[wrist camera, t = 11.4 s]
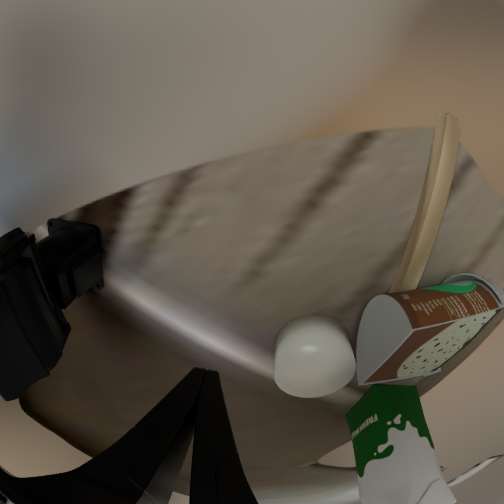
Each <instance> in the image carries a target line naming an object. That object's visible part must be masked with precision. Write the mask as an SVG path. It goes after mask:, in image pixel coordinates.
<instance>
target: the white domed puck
mask: <svg viewBox="0 0 504 504" xmlns="http://www.w3.org/2000/svg"><path fill="white" fill-rule="evenodd" d="M355 371H356V362H355V358H354V355H353V351H352V347H351V344H350V341H349V337H348V334H347V331H346V329H345V327H344V326H343V325H342V324H341V323H340V322H339V321H337V320H336V319H333V318H331V317H328V316H322V315H311V316H305V317H301V318H298V319H296V320H294V321H292V322H290V323H289V324H287V325H286V326H285V327H284V328H282V330H281V331H280V332H279V334H278V335H277V337H276V341H275V365H274V379H275V382H276V384H277V386H278V387H279V388H280V389H281V390H283V391H284V392H286V393H288V394H290V395H293V396H296V397H303V398H315V397H321V396H325V395H329V394H332V393H334V392H336V391H338V390H340V389H341V388H343V387H344V386H345V385H347V384H348V383H349V382H350V381H351V379H352V378H353V376H354V374H355Z"/></svg>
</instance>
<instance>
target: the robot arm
mask: <svg viewBox="0 0 504 504" xmlns="http://www.w3.org/2000/svg"><path fill="white" fill-rule="evenodd" d="M47 225H48V233H49V235H48V236H47V237H45V238H43V239H42V240H40V241H39V242H37V243H36V242H35V240H36V239H35V235H34V233H32V234H25V232H23V231H22V230H21V229H20V228H19V227H18V228H15V229H13V230H12V231H9V232H8V233H6V234H4V235H3V236H1V237H0V395H1V396H2V398H3V399H4V400H5V401H11V400H15V399H17V398H19V397H20V396H21V394H22V393H23V392H24V391H25V390H26V389H27V388H29V387H30V386H31V385H32V384H34V383H35V382H37V381H38V380H40V379H43V378H45V377H47V376H49V375H50V373H49V371H50V370H52V369H53V368H54V367H55V365H56V364H57V363H58V361H59V359H60V358H61V356H62V354H63V352H62V351H63V348H64V345H65V343H66V340H67V338H68V335H69V333H70V330H71V327H70V325H69V323H68V322H67V321H66V318H65V316H64V314H63V312H62V310H61V309H64V310H65V309H66V308H67V307H68V306H69V305H70V304H71V303H72V301H73V300H74V299H75V298H76V297H78V298H79V297H81V296H82V295H83V294H84V293H85V292H86V291H87V290H88V289H89V288H94V289H97V290H101V289H102V288H103V287H104V281H103V271H102V263H101V254H100V246H99V234H98V228H97V227H96V226H95V225H92V224H86V223H80V222H74V221H67V220H61V219H55V218H51V219H49V220H48V222H47ZM92 230H93V231H94V232H92ZM134 427H135V428H134ZM134 427H133V428H132V429H130V430H129V431H128V432H127V433H126V434H125V435H124V436H123V437H122V438H120V439H119V440H118V441H117V442H116V443H114V444H113V445H112V446H110V447H109V448H107V449H106V450H105V451H103V452H102V453H100V454H99V455H97V456H96V457H94V458H92V459H91V460H90V461H88V462H86V463H85V464H83V465H82V466H80V467H78V468H76V469H74V470H71V471H68V472H64V473H59V474H52V475H45V476H37V477H29V478H28V477H27V478H19V477H15V476H14V475H12V474H11V473H9V472H8V471H7V470H5V469H4V468H3V467H1V466H0V504H168V503H169V500H170V497H171V495H172V492H173V489H174V487H175V484H176V481H177V479H178V476H179V473H180V470H181V468H182V465H183V462H184V460H185V457H186V454H187V451H188V449H189V446H190V443H191V440H192V438H193V435H194V442H193V454H192V467H191V482H190V499H189V504H258V502H257V500H256V498H255V496H254V494H253V492H252V490H251V488H250V486H249V484H248V481H247V479H246V477H245V474H244V471H243V468H242V465H241V462H240V458H239V455H238V452H237V447H236V444H235V440H234V436H233V432H232V428H231V424H230V420H229V416H228V411H227V407H226V403H225V398H224V394H223V390H222V385H221V380H220V376H219V372H218V371H216V370H210V369H208V370H206V369H205V368H201V367H194V368H193V369H192V370H191V371H190V372H189V373H188V374H187V375H186V376H185V377H184V378H183V379H182V380H181V381H180V382H179V383H178V384H177V385H176V386H175V387H174V388H173V389H172V390H171V391H170V392H169V393H168V394H167V395H166V396H165V397H164V398H163V399H162V400H161V401H160V402H159V403H158V404H157V405H156V406H155V407H154V408H153V409H152V410H151V411H150V412H148V413H147V414H146V415H145V416H144V417H143V418H142V419H141V420H140V421H139V422H138V423H137V424H136V425H135V426H134Z"/></svg>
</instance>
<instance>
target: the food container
mask: <svg viewBox="0 0 504 504" xmlns="http://www.w3.org/2000/svg"><path fill="white" fill-rule="evenodd" d="M503 307H504V291H503V290H502V289H501V288H500V287H499V286H498V285H496V284H495V283H494V282H492V281H491V280H489V279H487V278H484V277H481V276H478V275H475V274H470V273H460V274H456V275H453V276H451V277H450V278H448V279H446V280H445V281H444V282H443V283H442V284H441V285H437V286H431V287H425V288H420V289H413V290H407V291H401V292H394V293H387V294H381V295H377V296H375V297H373V298H372V299H371V300H370V301H369V303H368V304H367V306H366V308H365V310H364V312H363V315H362V318H361V321H360V324H359V330H358V335H357V346H356V373H357V381H358V386H359V385H367V384H375V383H383V382H390V381H396V380H402V379H408V378H413V377H418V376H423V377H426V376H429V375H432V374H435V373H437V372H440V371H441V369H440V367H441V366H442V365H443V364H445V363H446V362H447V361H448V360H449V359H451V358H452V357H453V356H454V355H456V354H457V353H458V352H459V351H461V350H462V349H463V348H464V347H465V346H467V345H468V344H469V343H470V342H471V341H472V340H473V339H474V338H475V337H476V336H477V335H478V333H479V332H480V331H481V330H482V329H483V328H484V327H485V326H486V325H487V324H488V323H489V322H490V321H491V320H492V318H493V317H494V316H495V315H496V314H498V313H499V312H500V311H501V309H502V308H503Z"/></svg>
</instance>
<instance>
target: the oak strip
mask: <svg viewBox="0 0 504 504" xmlns="http://www.w3.org/2000/svg"><path fill="white" fill-rule="evenodd" d="M461 127H462V120H460V119H458V118H456V117H454V116H452V115H450V114H449V113H437V119H436V126H435V132H434V139H433V144H432V150H431V155H430V160H429V165H428V170H427V174H426V179H425V183H424V187H423V191H422V195H421V199H420V203H419V206H418V210H417V213H416V217H415V220H414V224H413V227H412V230H411V233H410V236H409V239H408V242H407V245H406V248H405V251H404V254H403V257H402V260H401V262H400V265H399V268H398V271H397V273H396V276H395V278H394V281H393V283H392V286H391V288H390V291H389V293H394V292H401V291H407V290H413V289H416V288H417V286H418V283H419V281H420V278H421V276H422V274H423V271H424V269H425V266H426V263H427V261H428V258H429V255H430V253H431V250H432V247H433V244H434V241H435V239H436V236H437V233H438V229H439V226H440V223H441V220H442V216H443V213H444V210H445V206H446V202H447V199H448V195H449V191H450V187H451V183H452V178H453V174H454V169H455V164H456V159H457V154H458V148H459V142H460V135H461Z"/></svg>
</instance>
